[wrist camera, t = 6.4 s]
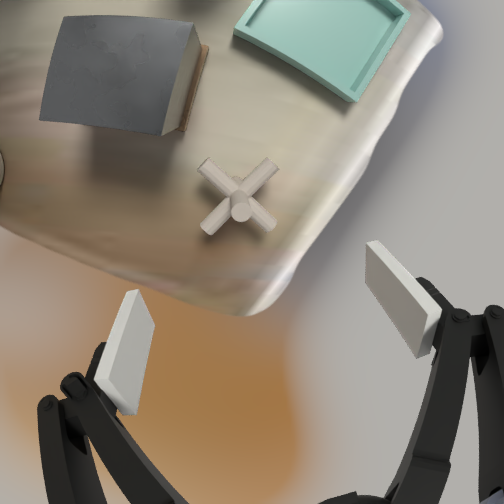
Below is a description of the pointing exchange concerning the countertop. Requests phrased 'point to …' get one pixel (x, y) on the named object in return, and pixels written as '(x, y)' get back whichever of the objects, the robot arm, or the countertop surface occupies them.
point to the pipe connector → (238, 196)
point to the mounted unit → (124, 73)
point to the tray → (326, 37)
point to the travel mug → (1, 169)
